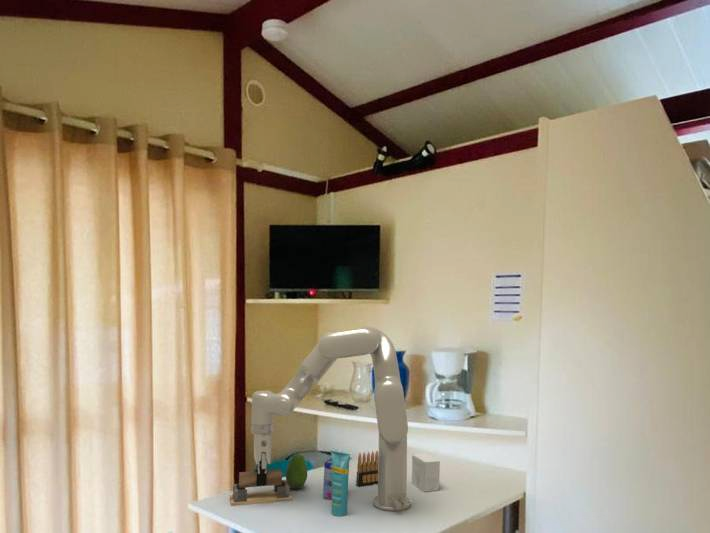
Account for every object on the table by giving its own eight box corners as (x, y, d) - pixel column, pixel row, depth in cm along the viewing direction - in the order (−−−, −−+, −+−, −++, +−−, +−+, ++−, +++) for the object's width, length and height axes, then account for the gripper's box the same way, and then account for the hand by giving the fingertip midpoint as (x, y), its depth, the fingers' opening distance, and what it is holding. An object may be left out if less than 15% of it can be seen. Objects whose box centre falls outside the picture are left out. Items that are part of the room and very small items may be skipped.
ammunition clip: (381, 481, 202) (381, 449, 203) (384, 483, 201) (384, 450, 201) (355, 485, 198) (356, 452, 198) (358, 487, 196) (358, 453, 197)
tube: (325, 513, 172) (326, 451, 173) (333, 508, 176) (334, 448, 177) (346, 518, 168) (347, 455, 169) (353, 513, 172) (354, 451, 173)
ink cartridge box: (337, 501, 182) (338, 457, 183) (322, 498, 184) (323, 455, 185) (348, 491, 192) (348, 449, 193) (333, 489, 194) (334, 447, 194)
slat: (281, 484, 184) (282, 472, 184) (239, 488, 180) (240, 475, 180) (280, 481, 187) (280, 469, 187) (238, 484, 183) (239, 472, 183)
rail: (291, 500, 183) (292, 486, 183) (231, 505, 177) (231, 491, 177) (288, 492, 189) (288, 479, 190) (229, 498, 183) (230, 484, 184)
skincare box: (440, 490, 194) (440, 460, 195) (424, 492, 192) (424, 462, 192) (426, 481, 204) (426, 452, 204) (411, 482, 202) (411, 454, 202)
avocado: (311, 488, 194) (312, 454, 194) (293, 493, 189) (294, 458, 189) (298, 482, 200) (299, 449, 200) (280, 487, 194) (281, 453, 195)
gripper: (277, 433, 178) (275, 490, 176) (269, 422, 193) (268, 474, 192) (254, 434, 175) (252, 492, 174) (248, 423, 191) (246, 476, 190)
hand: (260, 482), depth 183 cm, fingers closed on slat, 3 cm apart
